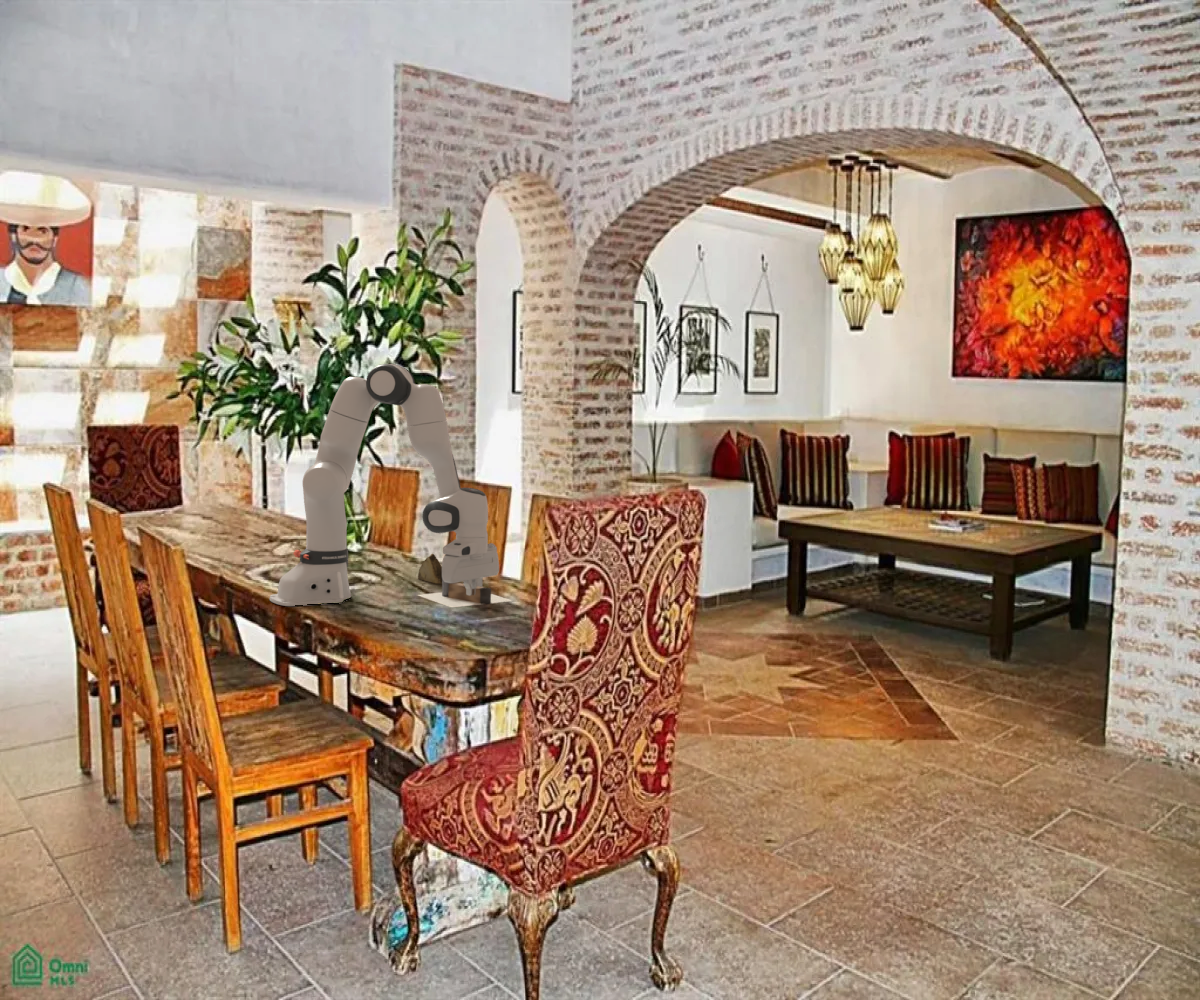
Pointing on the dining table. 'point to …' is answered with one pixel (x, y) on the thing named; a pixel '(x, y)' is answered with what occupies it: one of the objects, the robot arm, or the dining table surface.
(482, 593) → the leg
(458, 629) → the dining table surface
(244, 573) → the dining table surface
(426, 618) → the dining table surface
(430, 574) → the rock
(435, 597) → the wall mounted roll holder
